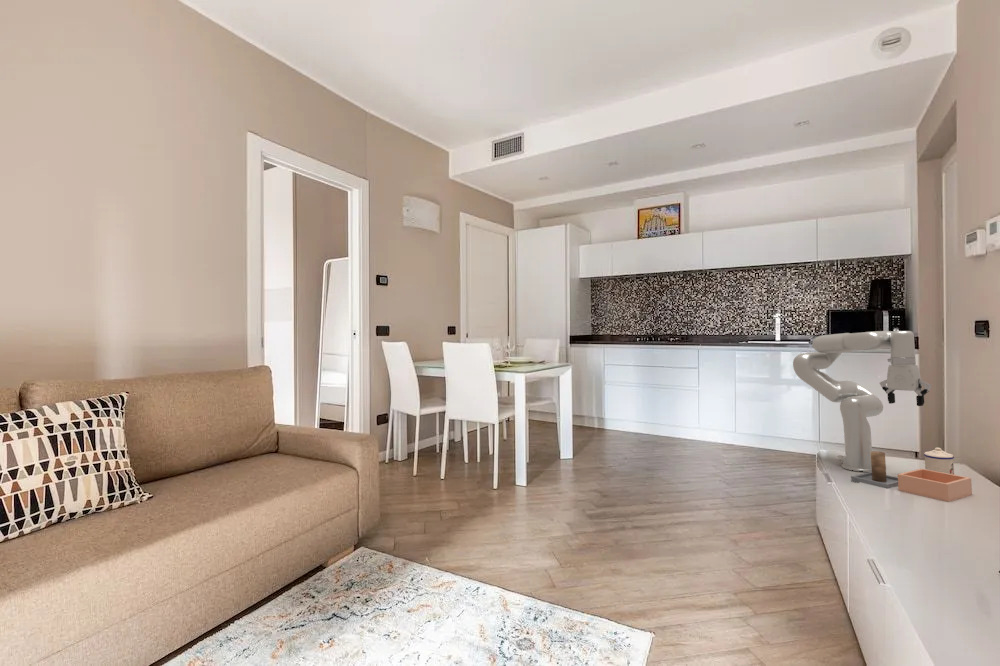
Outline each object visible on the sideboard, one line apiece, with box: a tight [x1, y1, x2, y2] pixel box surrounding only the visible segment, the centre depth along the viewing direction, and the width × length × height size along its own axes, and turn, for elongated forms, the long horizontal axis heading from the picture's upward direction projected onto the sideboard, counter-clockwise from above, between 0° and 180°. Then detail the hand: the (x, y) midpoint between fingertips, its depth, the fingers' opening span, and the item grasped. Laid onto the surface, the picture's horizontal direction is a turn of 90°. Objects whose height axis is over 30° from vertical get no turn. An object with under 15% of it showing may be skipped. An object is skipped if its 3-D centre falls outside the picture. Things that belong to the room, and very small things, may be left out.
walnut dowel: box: [871, 450, 887, 482], centre depth 190 cm, size 4×4×11 cm
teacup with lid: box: [923, 447, 955, 475], centre depth 196 cm, size 12×9×12 cm
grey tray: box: [850, 472, 898, 489], centre depth 190 cm, size 13×13×2 cm
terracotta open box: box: [897, 468, 973, 503], centre depth 175 cm, size 15×15×6 cm
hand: (905, 404), depth 192 cm, fingers open, 9 cm apart
